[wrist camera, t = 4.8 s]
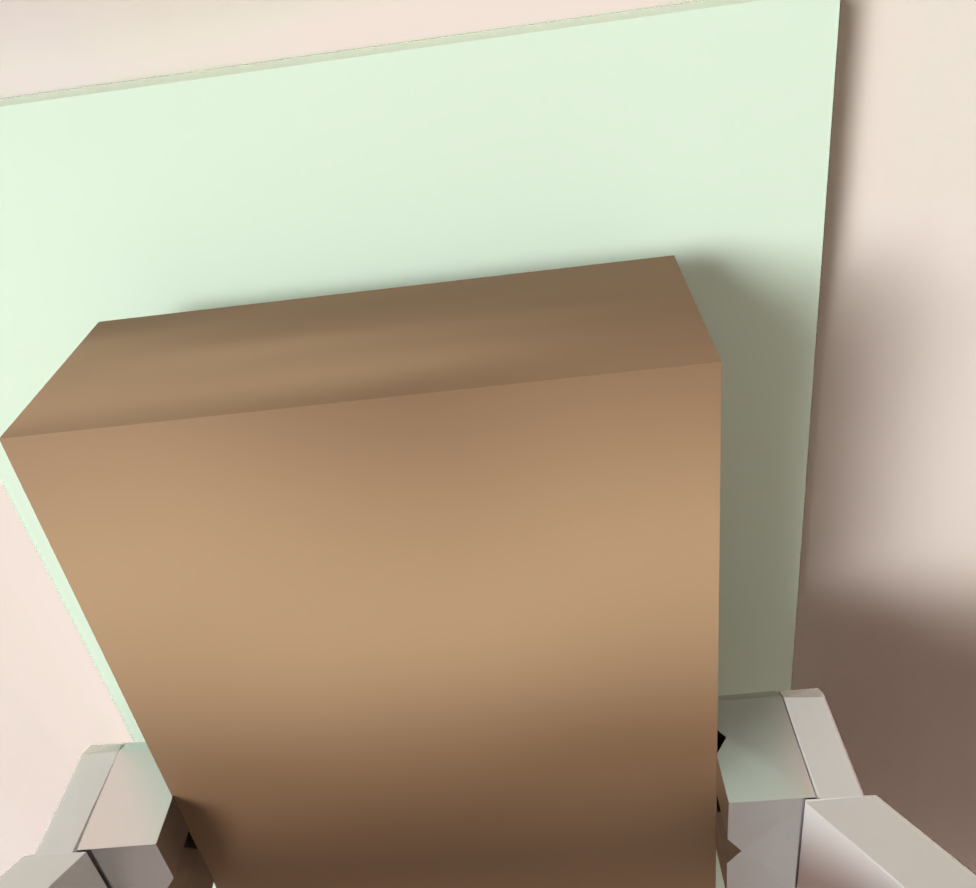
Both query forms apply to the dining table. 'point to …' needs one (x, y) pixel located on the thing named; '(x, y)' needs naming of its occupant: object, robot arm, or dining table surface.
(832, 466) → the dining table surface
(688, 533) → the walnut block
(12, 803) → the dining table surface
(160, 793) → the robot arm
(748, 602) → the mat
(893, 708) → the dining table surface
